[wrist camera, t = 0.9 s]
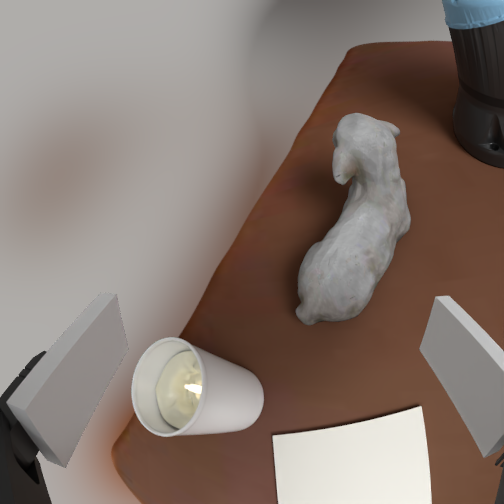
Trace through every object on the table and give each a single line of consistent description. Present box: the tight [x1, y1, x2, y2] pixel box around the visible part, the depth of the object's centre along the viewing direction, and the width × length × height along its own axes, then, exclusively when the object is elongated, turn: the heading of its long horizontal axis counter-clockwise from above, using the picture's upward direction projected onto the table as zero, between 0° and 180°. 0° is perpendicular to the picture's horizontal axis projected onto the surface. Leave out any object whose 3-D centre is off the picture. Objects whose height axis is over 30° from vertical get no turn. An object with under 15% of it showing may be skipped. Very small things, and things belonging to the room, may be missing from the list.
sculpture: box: [296, 113, 411, 325], centre depth 29 cm, size 11×21×15 cm, turn 153°
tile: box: [273, 406, 432, 504], centre depth 21 cm, size 16×16×1 cm
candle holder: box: [131, 337, 264, 437], centre depth 30 cm, size 10×10×12 cm
